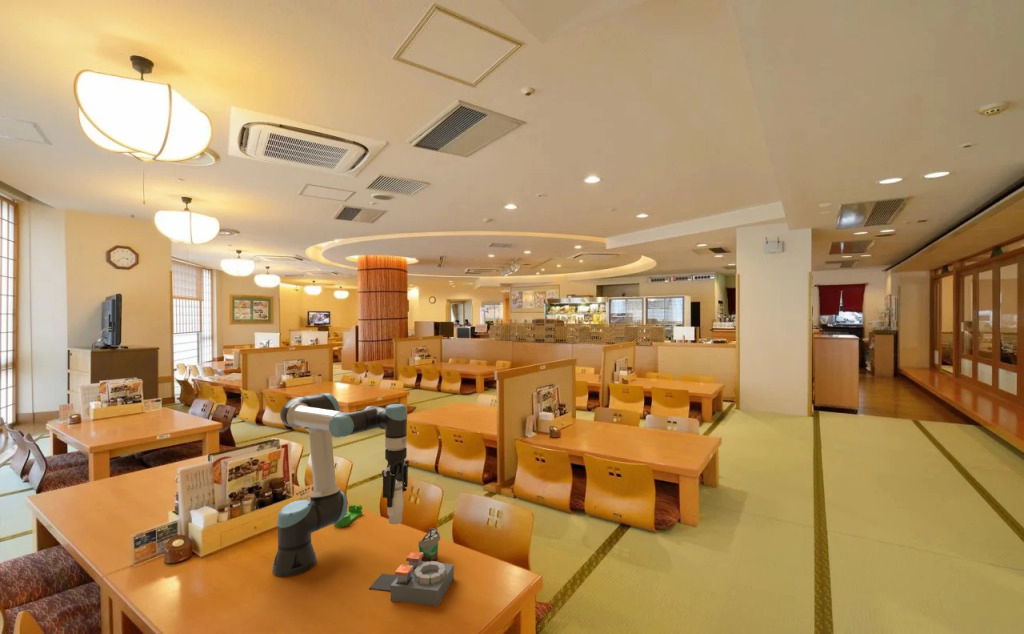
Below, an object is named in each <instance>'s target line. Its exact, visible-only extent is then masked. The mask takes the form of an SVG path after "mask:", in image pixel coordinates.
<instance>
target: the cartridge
mask: <svg viewBox="0 0 1024 634" xmlns="http://www.w3.org/2000/svg"><path fill="white" fill-rule="evenodd" d="M402 488H403V485H402V481H398V480H396V483H395V490H394V497H395V516H389V515H388V523H389V524H390V525H399V524H401V523H402V522H403V510H402Z"/></svg>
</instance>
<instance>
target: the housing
mask: <svg viewBox="0 0 1024 634" xmlns="http://www.w3.org/2000/svg"><path fill="white" fill-rule="evenodd" d="M406 565H409V562H408V563H406ZM454 565H455V564H453V563H452V564H451V563H442V562H440V561H436V562H435V561H431V562H429V561H428V562H424V561H421V564H420V566H419V565H418V566H417V568H416V569H415V570H412V572H411V581H410V582H409V584H408V585H403V584H398V577H397V578H396V579H395V580H394V582H393V583H392V584H391V585H390V586H391V591H390V601H393V602H395V601H396V602H402V603H410V604H417V605H418V604H419V605H426V606H434V607H435V606H436V607H439V606H440V603H441V601H442V600H443V598H444V596H445V595H446V593H447V591H448V589H449V587H450V586H451V585H452V582H453V581H454V578H455V566H454Z"/></svg>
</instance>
